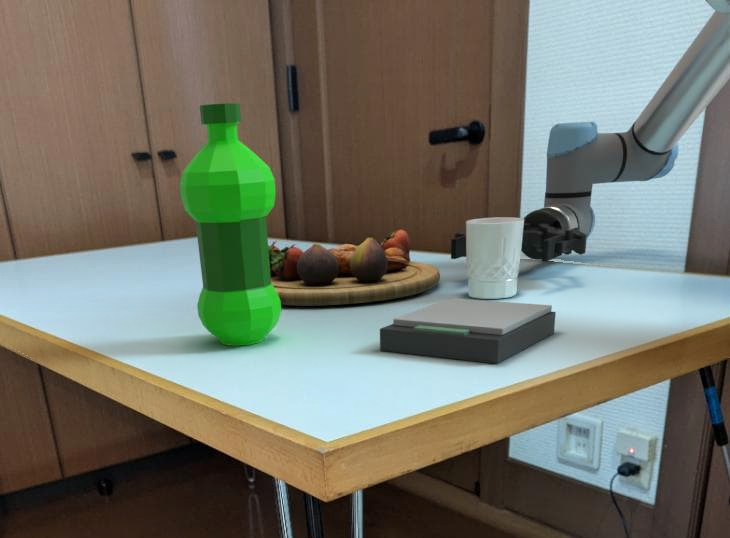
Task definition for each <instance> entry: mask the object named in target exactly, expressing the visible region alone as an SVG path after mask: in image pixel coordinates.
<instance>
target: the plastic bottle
mask: <svg viewBox="0 0 730 538" xmlns="http://www.w3.org/2000/svg"><path fill="white" fill-rule="evenodd" d="M241 111H242V110H241V103H237V102H235V103H233V102H232V103H230V102H229V103H228V102H227V103H210V104H201V105H199V113H200V114H199V115H200V122H201V123H200V124H201V125H202V126H206V132H207V142H206V143H205V144H204V145H203V146H202V148H201V149H199V151H197V153H196V154H195V156H194V157H193V158H192V159H191V160H190V162H189V163H188V164H187V166H186V167H185V168H184V170H183V171H182V172H181V177H180V181H179V192H180V199H181V202H182V205H183V208H184V211H185V212H186V213H187V214H188V216H190V217H191V219H193V220H194V221H195V227H196V228H195V229H196V236H197V237H196V238H197V246H198V254H199V262H200V263H199V264H200V272H201V281H202V289H201V290H200V293H199V297H198V301H197V304H196V308H197V315H198V318H199V321H200V322H201V324H202V326H203V327H204V328H205V329H206V330H207V332H209V333H210V334H211V335H213V336H214V337H215V338H216V339H217V340H218V341H220V343H221V344H222V345H224V346H233V347H239V346H250V345H251V346H252V345H254V344H260V343H261V342H263V341H265V337H267V336H268V335H269V334H270V333H271V332H272V330H273V329H274V328H275V327H276V326H277V324H278V322H279V320H280V317H281V313H282V305H281V301H280V298H279V296H278V294H277V292H276V290H275V288H274V287H273V285H272V283H271V275H270V263H269V250H268V245H269V240H268V239H269V238H268V226H267V225H268V224H267V217H268V215H269V214H270V212H271V211H272V210H273V208H274V207H275V202H276V193H277V192H276V179H275V177H274V175H273V172H272V170H271V168H270V166H269V165H268V164H267V163H266V162H265V161H263V160H262V159H261V158H260V157H259V156H258V155H257V154H256V153H255V152H254V151H252V150H251V149H250V148H249V147H248V146H247V145H245V144H244V143H243V142H242V141H240V140H239V135H238V124H241V123H242V112H241Z"/></svg>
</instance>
